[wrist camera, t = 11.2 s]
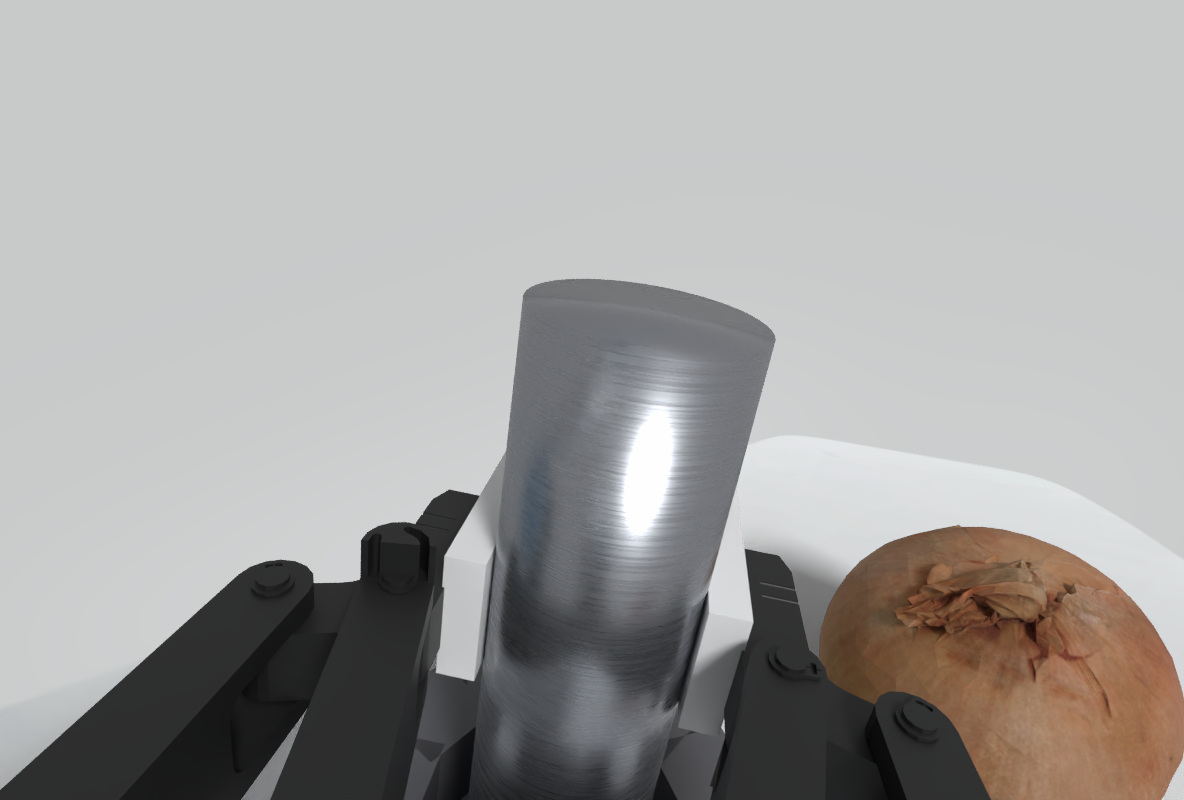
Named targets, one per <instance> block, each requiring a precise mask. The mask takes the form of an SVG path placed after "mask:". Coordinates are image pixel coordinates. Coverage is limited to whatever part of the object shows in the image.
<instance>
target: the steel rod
mask: <svg viewBox="0 0 1184 800" xmlns="http://www.w3.org/2000/svg"><path fill="white" fill-rule="evenodd" d="M774 343H775V335H774V334H773V332H772V330H771V329H770V328H769V327H768V326H766V325H765V324H764V323H762V322H761V321H760V320H758V319H756V318H754V317H753V316H751V315H749V314H747V313H745V312H743V311H741V310H738V309H735V308H733V307H731V306H728V305H726V304H723V303H720V302H717V301H714V300H711V299H707V298H704V297H701V296H697V295H694V294H689V293H686V292H681V291H677V290H673V289H668V288H663V287H658V286H652V285H646V284H640V283H632V282H624V281H614V280H600V279H567V280H556V281H550V282H544V283H541V284H537V285H535V286H532V287H531V288H529V289H528V290H526V292H525V293H524V295H523V303H522V312H521V321H520V331H519V340H518V349H517V358H516V367H515V377H514V385H513V394H512V403H511V412H510V422H509V432H508V440H507V449H506V458H505V467H504V476H503V485H502V495H501V504H500V513H499V522H498V531H497V540H496V549H495V558H494V568H493V577H492V586H491V595H490V604H489V613H488V622H487V631H486V641H485V650H484V659H483V668H482V677H481V686H480V695H479V705H478V714H477V723H476V732H475V741H474V750H473V759H472V768H471V778H470V787H469V796H468V800H652V799H653V795H654V791H655V787H656V784H657V780H658V776H659V772H660V769H661V765H662V761H663V758H664V754H665V750H666V746H667V743H668V739H669V735H670V731H671V728H672V724H673V720H674V717H675V713H676V709H677V705H678V701H679V697H680V694H681V690H682V686H683V682H684V679H685V675H686V671H687V667H688V664H689V660H690V656H691V652H692V649H693V645H694V641H695V638H696V634H697V630H698V626H699V623H700V619H701V615H702V611H703V608H704V604H705V600H706V597H707V593H708V589H709V586H710V582H711V579H712V575H713V571H714V567H715V564H716V560H717V556H718V552H719V549H720V545H721V541H722V538H723V534H724V530H725V526H726V523H727V519H728V515H729V511H730V508H731V504H732V500H733V497H734V493H735V489H736V485H737V482H738V478H739V474H740V470H741V467H742V463H743V459H744V455H745V452H746V448H747V444H748V441H749V437H750V433H751V429H752V425H753V422H754V418H755V414H756V411H757V407H758V403H759V399H760V396H761V392H762V388H763V385H764V381H765V377H766V373H767V370H768V366H769V362H770V358H771V355H772V351H773V347H774Z"/></svg>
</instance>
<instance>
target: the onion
mask: <svg viewBox="0 0 1184 800" xmlns="http://www.w3.org/2000/svg"><path fill="white" fill-rule="evenodd" d="M819 660H820V661H821V663H822V664H823V666H824V667H825V669H826V673H827V677H828V680H830V681H831V682H832V683H834V684H835V685H836V686H838V687H840V688H842V689H843V690H845V691H847V692H849V693H851V694H853V695H855V696H857V697H860V698H862V699H864V700H866V701H868V702H870V703H873V704H875V703H876V702H877V700H878V698H879V696H880V695H882V694H885V693H887V692H890V691H893V692H906V693H909V694H912V695H915V696H918V697H920V698H922V699H924V700H925V701H927V702H929V703H931V704H932V705H934V706H936V707H937V708H938V709H939V710H940V711H941V712H942V713H943V714H945V715H946V716H947V717H948V718H949V719H950V721H951V722H952V724H953V725H954V727H955V728H956V729H957V731H958V733H959V735H960V737H961V739H962V741H963V743H964V745H965V747H966V749H967V751H968V753H969V755H970V757H971V759H972V761H973V764H974V766H975V768H976V770H977V772H978V774H979V776H980V778H981V780H982V782H983V784H984V786H985V788H986V790H987V792H988V794H989V796H990V798H991V800H1161V799H1162V798H1163V796H1164V795H1165V793H1166V790H1167V788H1168V786H1169V784H1170V781H1171V779H1172V777H1173V775H1174V774H1175V772H1176V770H1177V768H1178V766H1179V764H1180V762H1181V761H1182V758H1183V751H1184V698H1183V693H1182V689H1181V685H1180V682H1179V679H1178V675H1177V672H1176V669H1175V666H1174V662H1173V659H1172V657H1171V655H1170V653H1169V652H1168V650H1167V648H1166V647H1165V645H1164V643H1163V641H1162V640H1161V638H1160V636H1159V634H1158V633H1157V631H1156V629H1155V628H1154V626H1153V625H1152V623H1151V622H1150V621H1149V619H1148V618H1147V617H1146V616H1145V614H1144V613H1143V612H1142V610H1141V609H1140V608H1139V607H1138V606H1137V604H1136V603H1135V602H1134V601H1133V600H1132V599H1131V597H1130V596H1128V595H1127V594H1126V593H1125V592H1124V591H1123V590H1122V589H1121V588H1120V587H1119V586H1118V585H1117V584H1116V583H1115V582H1114V581H1112V580H1111V579H1110V578H1108V577H1107V576H1106V575H1104V574H1103V573H1101V572H1100V571H1099V570H1097V569H1096V568H1094V567H1093V566H1091V565H1090V564H1088V563H1086V562H1085V561H1083V560H1082V559H1080V558H1079V557H1077V556H1075V555H1073V554H1071V553H1069V552H1067V551H1065V550H1063V549H1061V548H1059V547H1057V546H1054V545H1051V544H1049V543H1046V542H1044V541H1041V540H1038V539H1036V538H1033V537H1031V536H1027V535H1023V534H1019V533H1015V532H1011V531H1007V530H1002V529H994V528H986V527H961V526H959V525H957V526H952V527H947V528H942V529H936V530H932V531H927V532H923V533H918V534H914V535H911V536H907V537H904V538H901V539H897V540H894V541H892V542H889V543H887V544H885V545H883V546H882V547H880V548H879V549H877V550H876V551H874V552H872V553H871V554H870V555H868V556H867V557H866V558H864V559H863V560H861V561H860V562H859V563H858V564H857V565H856V566H855V567H854V569H853V570H852V571H851V572H850V573H849V574H848V575H847V576H846V578H845V579H844V581H843V582H842V584H841V585H840V586H839V588H838V590H837V591H836V593H835V595H834V597H833V598H832V600H831V602H830V604H829V606H828V609H827V612H826V615H825V618H824V621H823V624H822V628H821V634H820V649H819Z"/></svg>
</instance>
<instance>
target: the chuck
mask: <svg viewBox="0 0 1184 800" xmlns="http://www.w3.org/2000/svg"><path fill="white" fill-rule="evenodd" d="M483 659H484V658H483ZM482 668H483V660H482V663H481V665H480V668H479V670H478V673H477V675H476V678H475V680H474V681H470V680H466V679H461V678H457V677H452V676H448V675H444V674H439V673H436V668H434V669H433V670H431V671H428V684H427V693H426V697H425V702H424V707H423V712H422V716H421V721H420V726H419V730H418V735H417V740H416V744H415V749H414V754H413V759H412V763H411V768H410V773H409V777H408V782H407V787H406V791H405V796H404V800H468V796H469V787H470V778H471V768H472V759H473V750H474V741H475V732H476V723H477V714H478V705H479V695H480V686H481V677H482ZM724 739H725V733H724V732H723V730H722V729H720V732H719V736H718V737H717V736H712V735H708V734H703V733H699V732H695V731H690V730H686V729H682V728H678V705H677V709H676V713H675V717H674V720H673V724H672V728H671V731H670V735H669V739H668V743H667V746H666V750H665V754H664V758H663V761H662V765H661V769H660V772H659V776H658V780H657V784H656V787H655V791H654V795H653V799H652V800H710V799H711V794H712V789H713V787H711V786H710V784H711V781H712V777H713V774H714V771H715V768H716V765H717V761H718V758H719V755H720V752H721V749H722V746H723V742H724Z"/></svg>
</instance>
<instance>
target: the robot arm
mask: <svg viewBox="0 0 1184 800" xmlns="http://www.w3.org/2000/svg"><path fill="white" fill-rule="evenodd" d="M505 458H506V452H505V454H504V456H503V457H502V459H501V461H500V462H499V464H498V466H497V467H496V469H495V471H494V473H493V475H492V476H491V478H490V480H489V481H488V483H487V485H486V486H485V488H484V490H483V491H482V493H481V495H480V496H477V495H473V494H468V493H462V492H458V491H453V490H448V491H446V492H445V493H443V494H441V495H440V496H438V497H436V498H434V499H433V500H432V501H431V503H430V504H429V505H428V507H427V508H426V509H425V511H424V513H423V515H421V516H420V518H419V519H418V521H417V522H416V524H412V523H407V522H402V523H389V524H385V525H381V526H378V527H376V528H374V529H372V530H371V531H369V532H367V534H366V535H365V536H364V537H363V539H362V540H361V578H360V580H357V581H353V582H344V583H313V573H312V572H311V571H310V570H309V568H308V567H307V566H305V565H303V564H300V563H298V562H296V561H287V560H276V561H267V562H263V563H260V564H258V565H254V566H252V567H250V568H248V569H247V570H245V571H243V572H242V573H240V574H239V575H238V576H237V577H236V578H234V579H233V580H232V581H231V582H230V583H229V584H228V585H227V586H226V587H225V588H223V589H222V590H221V591H220V592H219V593H218V594H217V595H216V596H215V597H213V598H212V599H211V600H210V601H209V602H208V603H207V604H206V605H205V606H203V607H202V608H201V609H200V610H199V611H198V612H197V613H196V614H195V615H194V616H193V617H191V618H190V619H189V620H188V621H187V622H186V623H185V624H184V625H183V626H181V627H180V628H179V629H178V630H177V631H176V632H175V633H174V634H172V636H170V637H169V638H168V639H167V640H166V641H165V642H164V643H163V644H161V645H160V646H159V647H158V648H157V649H156V650H155V651H154V652H153V653H151V654H150V655H149V656H148V657H147V658H146V659H145V660H144V661H143V662H141V663H140V664H139V665H138V666H137V667H136V668H135V669H134V670H133V671H132V672H130V673H129V674H128V675H127V676H126V677H125V678H124V679H123V680H122V681H120V682H119V683H118V684H117V685H116V686H115V687H114V688H113V689H112V690H110V691H109V692H108V693H107V694H106V695H105V696H104V697H103V698H102V699H101V700H99V701H98V702H97V703H96V704H95V705H94V706H93V707H92V708H91V709H89V710H88V711H87V712H86V713H85V714H84V715H83V716H82V717H81V718H80V719H78V720H77V721H76V722H75V723H74V724H73V725H72V726H71V727H70V728H68V729H67V730H66V731H65V732H64V733H63V734H62V735H61V736H60V737H58V738H57V739H56V740H55V741H54V742H53V743H52V744H51V745H50V746H49V747H47V748H46V749H45V750H44V751H43V752H42V753H41V754H40V755H39V756H37V757H36V758H35V759H34V760H33V761H32V762H31V763H30V764H29V765H28V766H26V767H25V768H24V769H23V770H22V771H21V772H20V773H19V774H18V775H16V776H15V777H14V778H13V779H12V780H11V781H10V782H9V783H8V784H6V785H5V786H4V787H3V788H2V789H1V790H0V800H241V799H242V797H243V796H244V795H245V793H246V792H247V790H248V789H249V788H250V786H251V785H252V784H253V782H254V781H255V779H256V778H257V777H258V775H259V774H260V773H261V771H262V770H263V768H264V767H265V766H266V764H267V763H268V762H269V760H270V759H271V757H272V756H273V755H274V753H275V752H276V751H277V749H278V748H279V746H280V745H281V744H282V742H283V741H284V740H285V738H286V737H287V735H288V734H289V733H290V731H291V730H292V729H293V727H294V726H295V724H296V723H297V722H298V720H299V719H300V718H301V716H302V715H303V713H304V712H305V711H306V709H307V708H308V709H307V711H306V713H305V716H304V718H303V721H302V723H301V726H300V728H299V731H298V733H297V736H296V738H295V741H294V743H293V745H292V748H291V750H290V753H289V755H288V758H287V760H286V763H285V765H284V768H283V770H282V773H281V775H280V777H279V780H278V782H277V785H276V787H275V790H274V792H273V795H272V797H271V800H404V796H405V791H406V787H407V782H408V777H409V773H410V768H411V763H412V759H413V754H414V749H415V744H416V740H417V735H418V730H419V726H420V721H421V716H422V712H423V707H424V702H425V697H426V693H427V684H428V671H429V669H430V667H431V665H432V663H433V661H434V659H435V657H436V655H437V664H436V673H439V674H444V675H448V676H452V677H457V678H461V679H466V680H470V681H474V680H475V678H476V675H477V673H478V670H479V668H480V665H481V663H482V660H483V658H484V650H485V641H486V631H487V622H488V613H489V604H490V595H491V586H492V577H493V568H494V558H495V549H496V540H497V531H498V522H499V513H500V504H501V495H502V485H503V476H504V467H505ZM723 719H724V720H725V739H724V742H723V746H722V749H721V752H720V755H719V758H718V761H717V765H716V768H715V771H714V774H713V777H712V781H711V784H710V786H711V787H713V789H712V794H711V799H710V800H991V798H990V796H989V794H988V792H987V790H986V788H985V786H984V784H983V782H982V780H981V778H980V776H979V774H978V772H977V770H976V768H975V766H974V764H973V761H972V759H971V757H970V755H969V753H968V751H967V749H966V747H965V745H964V743H963V741H962V739H961V737H960V735H959V733H958V731H957V729H956V728H955V727H954V725H953V724H952V722H951V721H950V719H949V718H948V717H947V716H946V715H945V714H943V713H942V712H941V711H940V710H939V709H938V708H937V707H936V706H934V705H932V704H931V703H929V702H927V701H925V700H924V699H922V698H920V697H918V696H915V695H912V694H909V693H906V692H893V691H890V692H887V693H885V694H882V695H880V696H879V698H878V700H877V702H876V703H875V704H873V703H870V702H868V701H866V700H864V699H862V698H860V697H857V696H855V695H853V694H851V693H849V692H847V691H845V690H843V689H842V688H840V687H838V686H836V685H835V684H834V683H832V682H831V681H830V680H828V677H827V673H826V669H825V667H824V666H823V664H822V663H821V661H820V660H819V659H818V657H817V656H815V655H814V654H813V653H812V652H810V651H809V649H808V644H807V640H806V635H805V631H804V626H803V622H802V617H801V613H800V608H799V605H798V599H797V595H796V591H795V586H794V582H793V577H792V573H791V571H790V570H789V568H788V567H787V566H786V564H785V563H784V562H783V561H782V559H781V558H780V557H779V556H777V555H772V554H767V553H762V552H757V551H753V550H748V549H744V541H743V533H742V525H741V517H740V509H739V500H738V492H737V485H736V489H735V493H734V497H733V500H732V504H731V508H730V511H729V515H728V519H727V523H726V526H725V530H724V534H723V538H722V541H721V545H720V549H719V552H718V556H717V560H716V564H715V567H714V571H713V575H712V579H711V582H710V586H709V589H708V593H707V597H706V600H705V604H704V608H703V611H702V615H701V619H700V623H699V626H698V630H697V634H696V638H695V641H694V645H693V649H692V652H691V656H690V660H689V664H688V667H687V671H686V675H685V679H684V682H683V686H682V690H681V694H680V697H679V701H678V728H682V729H686V730H690V731H695V732H699V733H703V734H708V735H712V736H717V737H718V736H719V732H720V729H721V726H722V723H723Z"/></svg>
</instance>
